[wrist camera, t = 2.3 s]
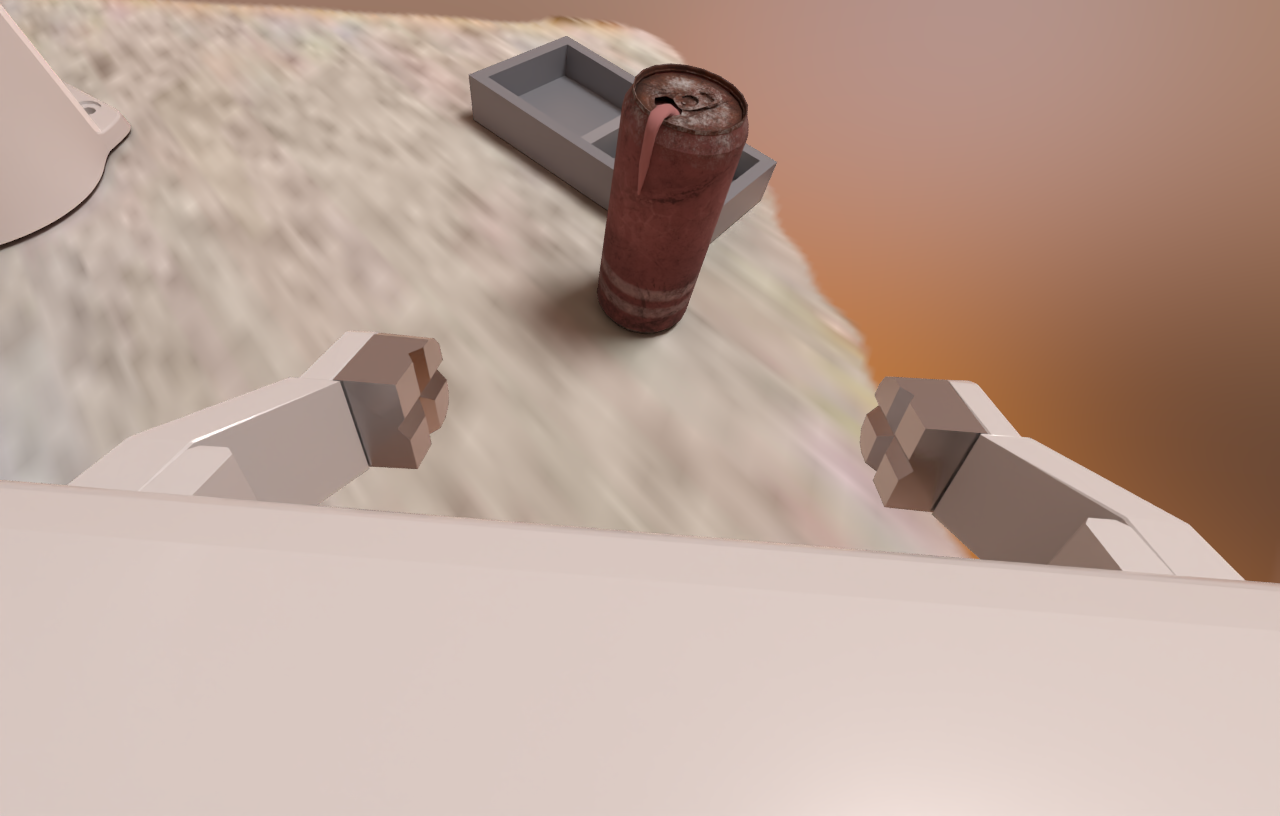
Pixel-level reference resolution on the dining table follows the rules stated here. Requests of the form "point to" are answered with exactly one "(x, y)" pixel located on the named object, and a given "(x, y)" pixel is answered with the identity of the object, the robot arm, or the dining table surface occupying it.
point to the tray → (582, 121)
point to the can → (667, 191)
